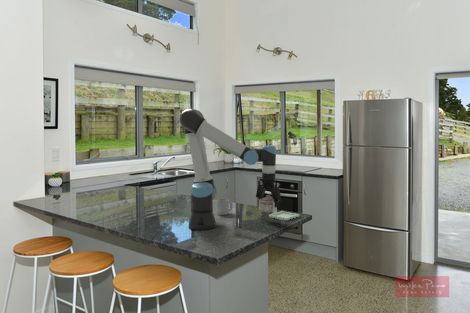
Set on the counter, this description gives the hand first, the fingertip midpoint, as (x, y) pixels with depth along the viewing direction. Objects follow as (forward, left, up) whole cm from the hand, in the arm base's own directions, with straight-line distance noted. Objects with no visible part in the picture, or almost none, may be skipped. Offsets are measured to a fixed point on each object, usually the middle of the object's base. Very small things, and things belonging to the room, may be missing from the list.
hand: (267, 211), depth 224 cm
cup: (-4, +32, -6) cm, 32 cm away
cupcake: (0, 0, 0) cm, 0 cm away
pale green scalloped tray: (+13, -1, -6) cm, 15 cm away
